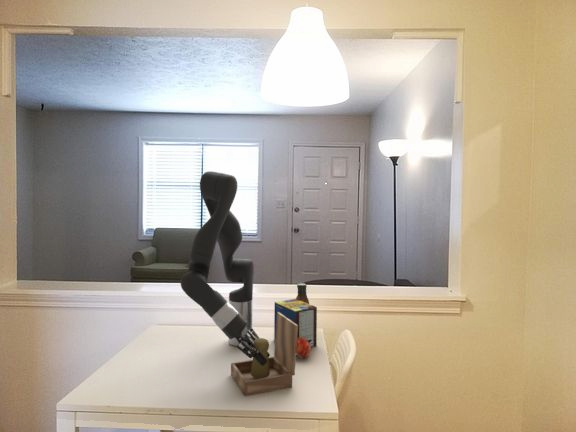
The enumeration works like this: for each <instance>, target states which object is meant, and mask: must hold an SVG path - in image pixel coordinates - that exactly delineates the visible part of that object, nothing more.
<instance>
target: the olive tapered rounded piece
mask: <svg viewBox="0 0 576 432" xmlns="http://www.w3.org/2000/svg"><path fill="white" fill-rule="evenodd" d="M254 343H255V347H256V349H257V350H258V351H259V352H260V353H261V354H262V355H263V356H264V357H265V358H266V359H267V363H266V364H265V365H263V366H262V365H261V364H260V363H259V362H258V361H257V360H256V359H255V358H253V357H252V360H253V361H252V368H251V376H252V377H255V378H265V377H268V376H269V375H270V371H269V362H268V353H269V352H268V350H269V347H270V341H269V340H268V339H267V338H264V337H263V338H262V337H259V338H258V339H255V340H254Z"/></svg>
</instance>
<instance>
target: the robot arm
mask: <svg viewBox="0 0 576 432" xmlns="http://www.w3.org/2000/svg"><path fill="white" fill-rule="evenodd" d="M199 190H200V194H201V197H202V199H203V202H204V204H205V206H206V208H207V211H208V214H209V216H210V217H209V219H208V220H207V221H206V222H204V224H202V226H201V227H200V228H199V230H198V231H197V232H196V234H195V236H194V239H193V243H192V245H191V249H190V254H189V265H188V269H187V272H186V273H185V274H183V276H181V279H180V287H181V289H182V291H183V292H184V293H185V295H187V296H188V297H189V298H190V299H191V300H192V301H193V302H195V303H196V304H197V305H198V306H200V307H201V308H202V310H203V311H204V312H205V313H206V314H207V315H208V316H209V318H211V320H212V321H213V322H214V324H215V325H216V326H217V328H219V329H220V330H221V331H222V332H223V334H225V336H226V337H227V338H228V344H229V345H231V346H233V347H236V348H237V349H238V350H239V351H241V352H242V353H243V354H244V355H245V356H247V357H248V358H249V359H253V358H255V359H256V360H257V361H258V362H259V363H260V364H261V365H262V366H263V365H265V364H266V363H267V359H266V358H265V357H264V356H263V355H262V354H261V353H260V352H259V351H258V350H257V349H256V347H255V343H254V340H255V339H258V338H260V337H259V335H258V334H257V332H256V331H255V330H254V328H253V294H254V293H253V290H254V273H255V272H254V271H255V268H254V266H255V265H254V261H253V260H252V259H250V258H249V259H248V258H234V254H235V252H236V251H237V250H238V248H239V247H240V245H241V243H242V241H243V233H242V229H241V223H240V222H239V220H238V219H237V217H236V216H235V215H234V213H233V212H232V211H231V208H232V205H233V203H234V200H235V198H236V195H237V192H238V179H237V178H236V177H235V175H232V174H227V173H225V172H224V173H223V172H217V171H205V172H204V173H203V174H202V175H201V177H200V181H199ZM217 244H218V246H219V250H220V254H221V257H222V258H221V259H222V265H223V270H224V275H225V278H226V280H227V281H228V282H230V283H238V284H239V283H242V284H243V285H242V286H241V287H240V288H238V289H234V290H232V291H230V292H229V294H228V300H227V299H226V298H225V297H224V296H223V294H221V293H220V292H219V291H217V290H215V289H213V288H212V287H211V285H209V284H208V280H209V275H210V269H211V268H210V267H211V262H212V259H213V257H214V256H213V255H214V254H215V253H214V251H215V249H216V245H217ZM268 357H271V355H270V353H269V352H268Z"/></svg>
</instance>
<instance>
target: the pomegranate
mask: <svg viewBox="0 0 576 432" xmlns="http://www.w3.org/2000/svg"><path fill="white" fill-rule="evenodd" d="M311 341H312V340H306V339H305V338H300V337H299V338H297V346H296V355H297V356H298V357H299V358H301V359H305V358H307V357H308V356H309V355H310V354H311V351H312V347H311V346H310V342H311Z"/></svg>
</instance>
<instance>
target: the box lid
mask: <svg viewBox="0 0 576 432" xmlns="http://www.w3.org/2000/svg"><path fill="white" fill-rule="evenodd" d="M297 332H298V325H297V324H295V323H294V322H292V321H291V320H290V319H288V318H287V317H285V316H284V315H282V314H281V313H280V312H277V322H276V337H275V339H274V351H273V352H274V354H273V357H275V358H276V359H277V360H278V361H279V362H280V363H281V364H282V365H283V366H284V367H285V368H286V369H287V370H288V371H289V372H290V373H291V374H292V377H295V375H296V374H295V373H296V357H297V353H296V346H297Z"/></svg>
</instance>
